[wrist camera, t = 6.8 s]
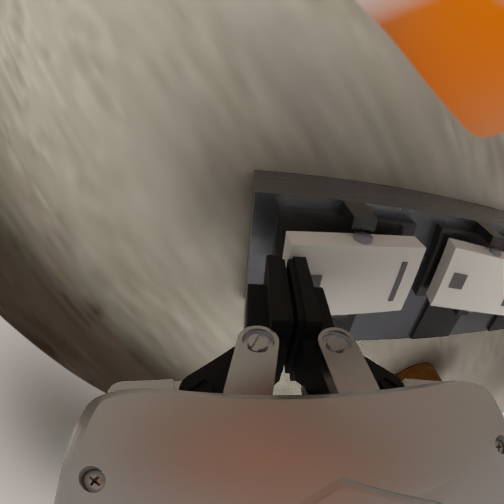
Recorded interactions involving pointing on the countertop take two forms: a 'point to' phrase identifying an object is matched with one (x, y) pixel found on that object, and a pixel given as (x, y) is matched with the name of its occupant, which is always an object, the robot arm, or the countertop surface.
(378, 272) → the rocker
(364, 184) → the power strip
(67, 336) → the countertop surface
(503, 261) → the rocker
